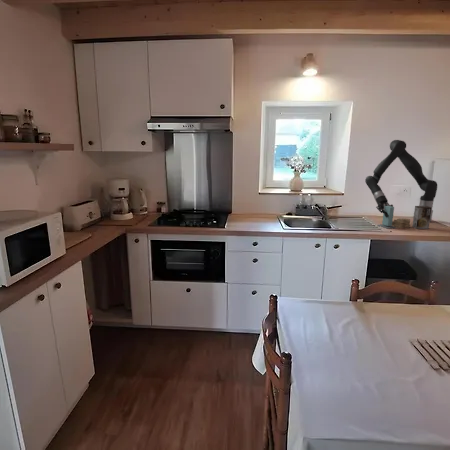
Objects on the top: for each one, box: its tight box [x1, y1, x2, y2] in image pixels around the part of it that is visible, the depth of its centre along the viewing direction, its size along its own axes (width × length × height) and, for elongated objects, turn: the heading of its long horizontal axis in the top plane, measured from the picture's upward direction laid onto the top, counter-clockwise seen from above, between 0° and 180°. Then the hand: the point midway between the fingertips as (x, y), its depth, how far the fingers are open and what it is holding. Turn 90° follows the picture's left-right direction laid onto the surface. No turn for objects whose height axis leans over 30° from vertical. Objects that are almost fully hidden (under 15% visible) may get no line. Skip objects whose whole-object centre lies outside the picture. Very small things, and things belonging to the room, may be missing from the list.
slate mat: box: [377, 224, 397, 230], centre depth 243 cm, size 8×10×1 cm
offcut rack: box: [392, 217, 411, 229], centre depth 247 cm, size 10×14×6 cm
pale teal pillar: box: [381, 206, 395, 226], centre depth 242 cm, size 4×6×14 cm, turn 16°
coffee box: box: [412, 205, 433, 230], centre depth 239 cm, size 9×6×16 cm
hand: (390, 216), depth 240 cm, fingers closed on pale teal pillar, 3 cm apart
